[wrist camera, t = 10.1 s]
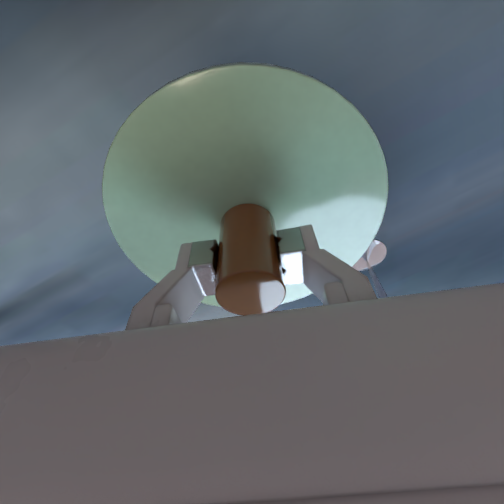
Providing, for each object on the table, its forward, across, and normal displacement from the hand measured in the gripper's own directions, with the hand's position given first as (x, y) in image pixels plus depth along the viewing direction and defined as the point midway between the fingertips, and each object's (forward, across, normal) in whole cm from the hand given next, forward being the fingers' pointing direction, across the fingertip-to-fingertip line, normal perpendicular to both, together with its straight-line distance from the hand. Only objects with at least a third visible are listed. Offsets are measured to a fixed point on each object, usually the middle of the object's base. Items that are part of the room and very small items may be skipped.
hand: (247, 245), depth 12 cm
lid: (+2, 0, 0) cm, 2 cm away
